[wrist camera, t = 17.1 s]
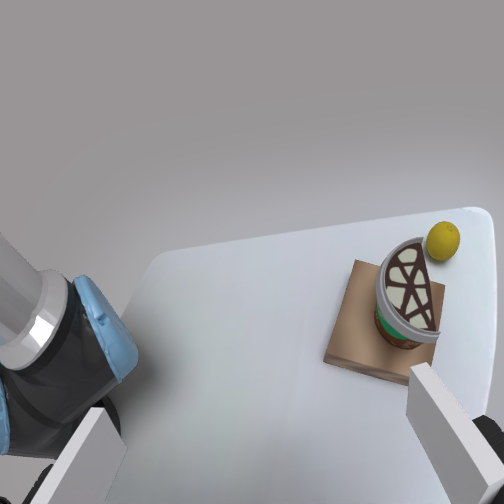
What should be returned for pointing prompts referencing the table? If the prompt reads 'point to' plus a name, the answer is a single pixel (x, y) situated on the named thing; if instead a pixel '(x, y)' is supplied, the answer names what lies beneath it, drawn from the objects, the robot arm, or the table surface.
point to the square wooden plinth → (374, 332)
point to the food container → (405, 298)
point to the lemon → (443, 241)
